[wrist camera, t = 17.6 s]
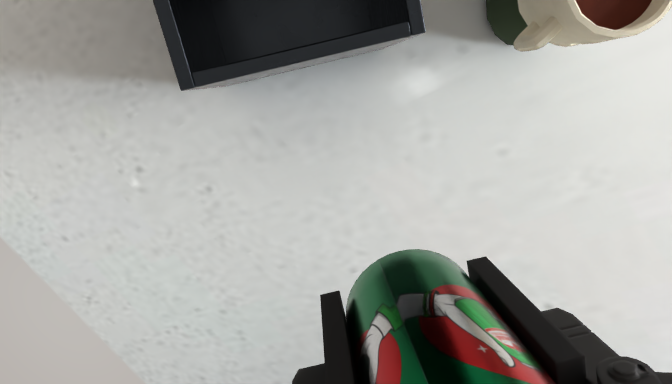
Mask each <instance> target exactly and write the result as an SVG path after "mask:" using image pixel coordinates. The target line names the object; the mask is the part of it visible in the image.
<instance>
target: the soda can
mask: <svg viewBox="0 0 672 384" xmlns="http://www.w3.org/2000/svg"><path fill="white" fill-rule="evenodd" d="M346 320H347V326H348V332H349V338H350V344H351V350H352V356H353V362H354V368H355V374H356V379H357V384H556V383H555V382H554V381H553V380H552V378H551V377H550V376H549V375H548V374H547V372H546V371H545V370H544V369H543V367H542V366H541V365H540V364H539V363H538V361H537V360H536V359H535V358H534V356H533V355H532V354H531V353H530V352H529V350H528V349H527V348H526V347H525V345H524V344H523V343H522V342H521V341H520V339H519V338H518V337H517V336H516V334H515V333H514V332H513V331H512V329H511V328H510V327H509V326H508V325H507V323H506V322H505V321H504V320H503V318H502V317H501V316H500V315H499V314H498V312H497V311H496V310H495V309H494V307H493V306H492V305H491V304H490V303H489V301H488V300H487V299H486V298H485V296H484V295H483V294H482V293H481V292H480V290H479V289H478V288H477V287H476V285H475V284H474V283H473V282H472V280H471V279H470V278H469V277H468V276H467V274H466V273H465V272H464V271H463V270H462V269H461V268H460V267H459V266H458V265H457V264H456V263H455V262H454V261H452V260H451V259H449V258H448V257H445V256H443V255H441V254H439V253H436V252H432V251H428V250H420V249H412V250H403V251H398V252H395V253H392V254H389V255H386V256H384V257H382V258H380V259H378V260H377V261H376V262H374V263H373V264H371V265H370V266H369V267H368V268H367V269H366V270H365V271H363V272H362V274H361V275H360V276H359V278H358V279H357V280H356V282H355V283H354V285H353V287H352V289H351V291H350V294H349V297H348V301H347V306H346Z"/></svg>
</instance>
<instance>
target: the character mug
mask: <svg viewBox="0 0 672 384" xmlns="http://www.w3.org/2000/svg"><path fill="white" fill-rule="evenodd" d="M671 6H672V0H486V7H487V19H488V21H489V23H490V25H491V27H492V29H493V31H494V33H495V35H496V36H498V37H499V38H500V39H501V40H502V41H504V42H505V43H506V44H509V45H514V48H515V49H516V50H518V51H521V52H523V51H531V50H536V49H539V48H541V47H543V46H545V45H546V44H547V43H548V42H549V43H551V44H554V45H558V46H563V47H568V46H575V45H578V44H591V43H600V42H604V41H609V40H613V39H618V38H623V37H629V36H634V35H637V34H639V33H641V32H643V31H645V30H647V29H649V28H651V27H652V26H654V25H655V24H656V23H658V22H659V21H660V20H661V19H662V18H663V17H664V16H665V15H666V13H667V12H668V11H669V10H670V8H671Z"/></svg>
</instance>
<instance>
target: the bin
mask: <svg viewBox="0 0 672 384" xmlns="http://www.w3.org/2000/svg"><path fill="white" fill-rule="evenodd" d="M153 3H154V6H155V9H156V12H157V15H158V19H159V22H160V25H161V28H162V32H163V35H164V38H165V41H166V44H167V48H168V51H169V54H170V57H171V61H172V64H173V67H174V70H175V73H176V77H177V80H178V83H179V86H180V90H181V91H185V90H195V89H205V88H215V87H225V86H229V85H234V84H238V83H242V82H246V81H250V80H255V79H259V78H263V77H267V76H271V75H276V74H280V73H284V72H288V71H292V70H297V69H301V68H305V67H309V66H313V65H318V64H322V63H326V62H330V61H334V60H338V59H343V58H347V57H351V56H355V55H359V54H364V53H368V52H372V51H376V50H380V49H384V48H387V47H389V46H392V45H394V44H397V43H400V42H402V41H405V40H408V39H410V38H413V37H415V36H418V35H421V34H423V33H425V32H426V30H425V24H424V18H423V12H422V6H421V0H153Z"/></svg>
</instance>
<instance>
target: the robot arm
mask: <svg viewBox="0 0 672 384" xmlns="http://www.w3.org/2000/svg"><path fill="white" fill-rule="evenodd" d="M467 266H468V272H469V278H470V279H471V280H472V282H473V283H474V284H475V285H476V287H477V288H478V289H479V290H480V292H481V293H482V294H483V295H484V296H485V298H486V299H487V300H488V301H489V303H490V304H491V305H492V306H493V307H494V309H495V310H496V311H497V312H498V314H499V315H500V316H501V317H502V318H503V320H504V321H505V322H506V323H507V325H508V326H509V327H510V328H511V329H512V331H513V332H514V333H515V334H516V336H517V337H518V338H519V339H520V341H521V342H522V343H523V344H524V345H525V347H526V348H527V349H528V350H529V352H530V353H531V354H532V355H533V356H534V358H535V359H536V360H537V361H538V363H539V364H540V365H541V366H542V367H543V369H544V370H545V371H546V372H547V374H548V375H549V376H550V377H551V378H552V380H553V381H554V382H555V383H556V384H672V373H662V372H654V371H653V370H652V369H651V368H650V367H649V366H648V365H647V364H645V363H643V362H641V361H639V360H637V359H633V358H629V357H621V356H619V355H618V354H617V353H615V352H614V351H613V350H612V349H611V348H610V347H609V346H608V345H606V344H605V343H604V342H603V341H602V340H601V339H600V338H599V337H597V336H596V335H595V334H594V333H592V332H591V330H590V329H588V328H587V327H586V326H585V325H583V323H582V322H581V321H579V320H578V319H577V318H576V317H575V316H574V315H573V314H571V313H568V312H566V311H564V310H561V309H559V308H555V309H551V310H546V311H542V312H541V311H540V310H539V309H538V308H537V307H536V306H535V305H534V304H533V303H532V302H531V301H530V300H529V299H528V298H527V297H526V296H525V295H524V294H523V293H522V292H521V291H520V290H519V289H518V288H517V287H516V286H515V285H514V284H513V283H512V282H511V281H510V280H509V279H508V278H507V277H506V276H505V275H504V274H503V273H502V272H501V271H500V270H499V269H498V268H497V267H496V266H495V265H494V264H493V263H492V262H491V261H490V260H488V259H487V258H486V257H482V258H477V259H473V260H469V261H467ZM320 297H321V312H322V327H323V342H324V358H325V363H324V364H320V365H315V366H311V367H307V368H303V369H299V370H298V372H297V374H296V375H295V377H294V379H293V381H292V384H357V379H356V374H355V368H354V362H353V356H352V350H351V344H350V338H349V332H348V326H347V321H346V316H345V312H344V308H343V304H342V300H341V296H340V291H335V292H331V293H327V294H322V295H320Z"/></svg>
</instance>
